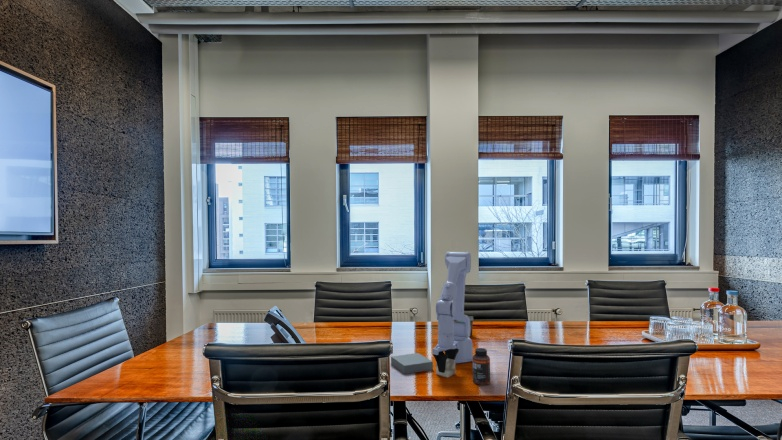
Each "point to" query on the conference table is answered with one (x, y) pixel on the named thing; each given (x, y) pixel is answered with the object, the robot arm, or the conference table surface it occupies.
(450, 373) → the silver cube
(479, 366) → the supplement bottle
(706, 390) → the conference table surface
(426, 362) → the blue-gray box
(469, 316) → the food container
